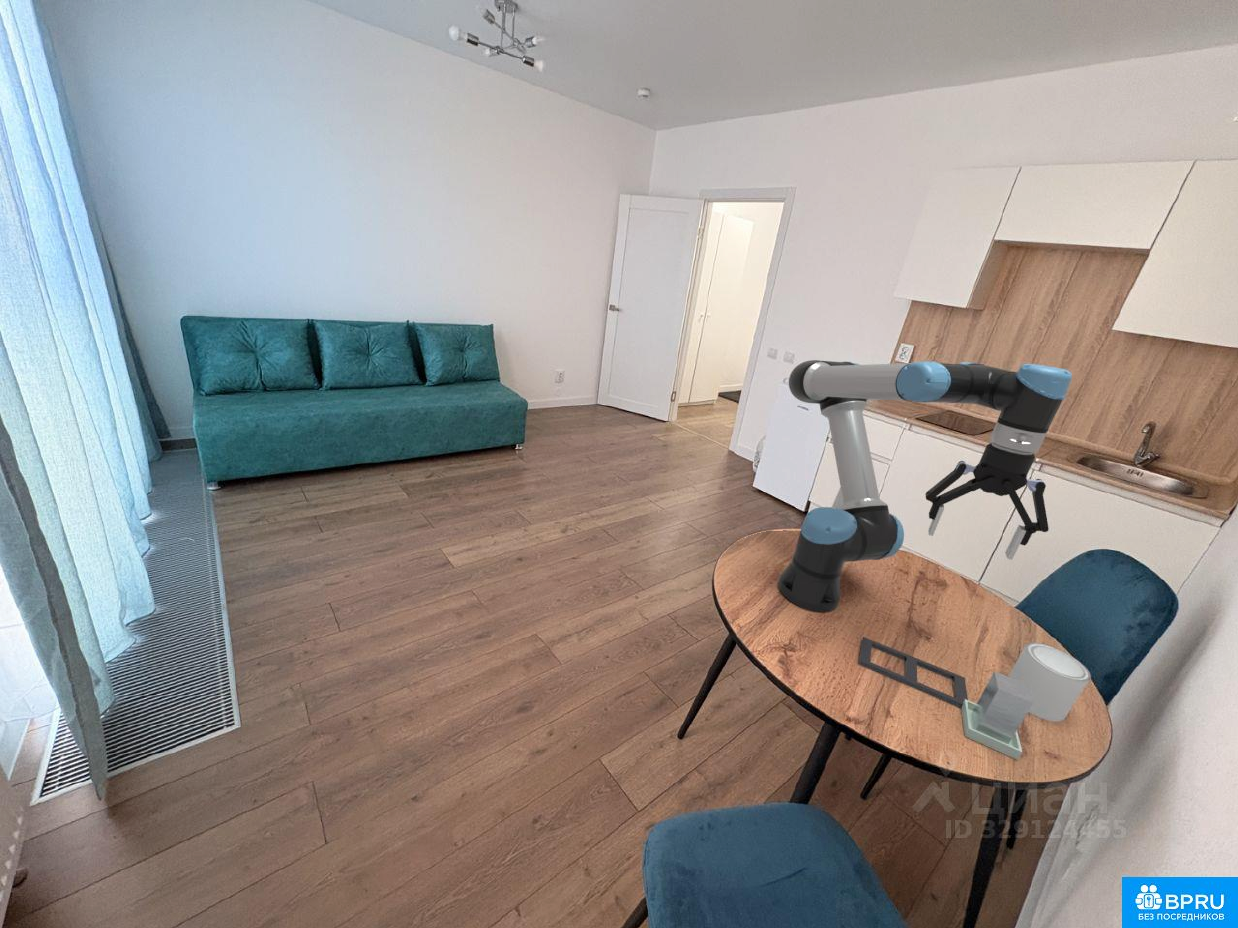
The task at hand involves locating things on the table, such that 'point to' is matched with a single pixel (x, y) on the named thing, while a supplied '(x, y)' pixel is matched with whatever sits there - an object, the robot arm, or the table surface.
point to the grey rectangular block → (1002, 707)
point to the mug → (1050, 680)
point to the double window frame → (914, 672)
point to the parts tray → (1008, 749)
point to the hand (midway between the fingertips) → (968, 544)
